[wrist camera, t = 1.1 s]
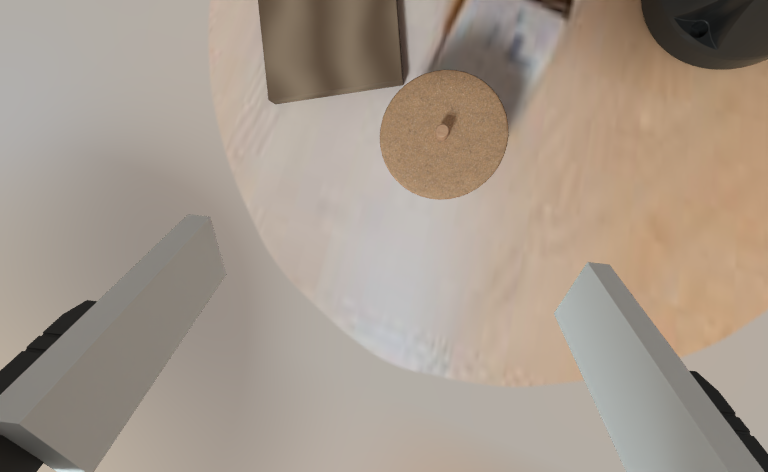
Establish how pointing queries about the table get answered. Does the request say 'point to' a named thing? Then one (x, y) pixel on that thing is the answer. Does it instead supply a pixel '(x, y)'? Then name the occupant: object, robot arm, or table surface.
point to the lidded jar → (444, 134)
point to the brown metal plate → (329, 47)
